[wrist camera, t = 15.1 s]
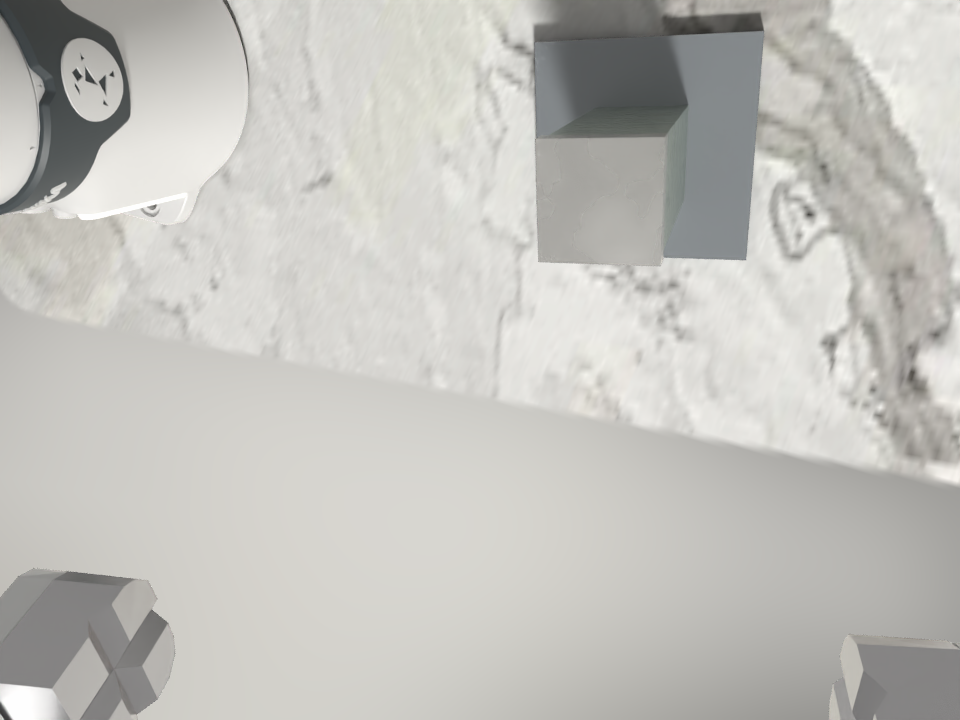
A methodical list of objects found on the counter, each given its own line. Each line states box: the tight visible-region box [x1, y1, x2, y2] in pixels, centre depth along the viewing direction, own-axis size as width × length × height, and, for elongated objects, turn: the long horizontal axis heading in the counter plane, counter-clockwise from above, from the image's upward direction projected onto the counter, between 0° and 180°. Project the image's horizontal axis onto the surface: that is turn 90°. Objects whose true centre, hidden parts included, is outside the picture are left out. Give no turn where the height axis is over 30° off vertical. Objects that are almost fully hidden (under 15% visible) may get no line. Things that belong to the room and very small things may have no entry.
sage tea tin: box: [535, 105, 689, 266], centre depth 36 cm, size 5×5×12 cm
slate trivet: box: [535, 31, 764, 260], centre depth 41 cm, size 11×11×1 cm
